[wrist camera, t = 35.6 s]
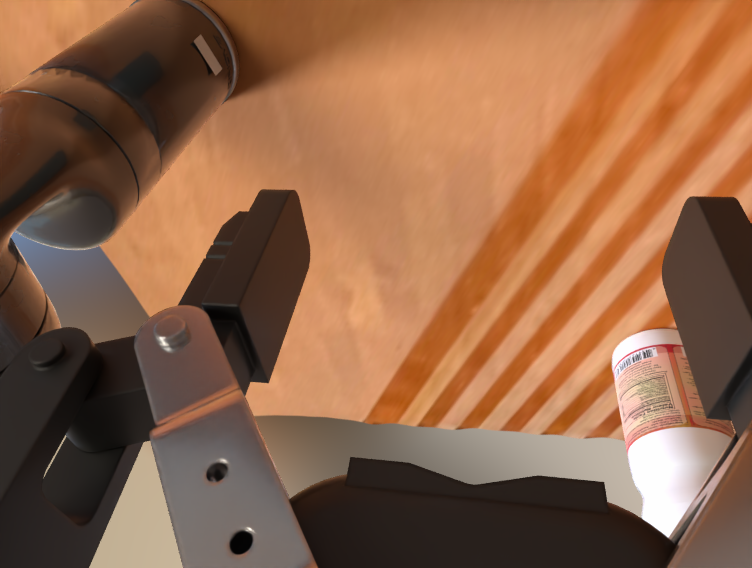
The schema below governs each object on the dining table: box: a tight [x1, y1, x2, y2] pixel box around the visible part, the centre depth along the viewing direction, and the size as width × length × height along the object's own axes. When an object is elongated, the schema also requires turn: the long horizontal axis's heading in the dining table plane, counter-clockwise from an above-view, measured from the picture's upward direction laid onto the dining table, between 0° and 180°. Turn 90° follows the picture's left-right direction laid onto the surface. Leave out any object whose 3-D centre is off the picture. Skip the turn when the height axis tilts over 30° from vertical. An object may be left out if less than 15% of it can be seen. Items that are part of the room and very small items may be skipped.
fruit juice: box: [612, 329, 735, 537], centre depth 49 cm, size 9×9×28 cm
